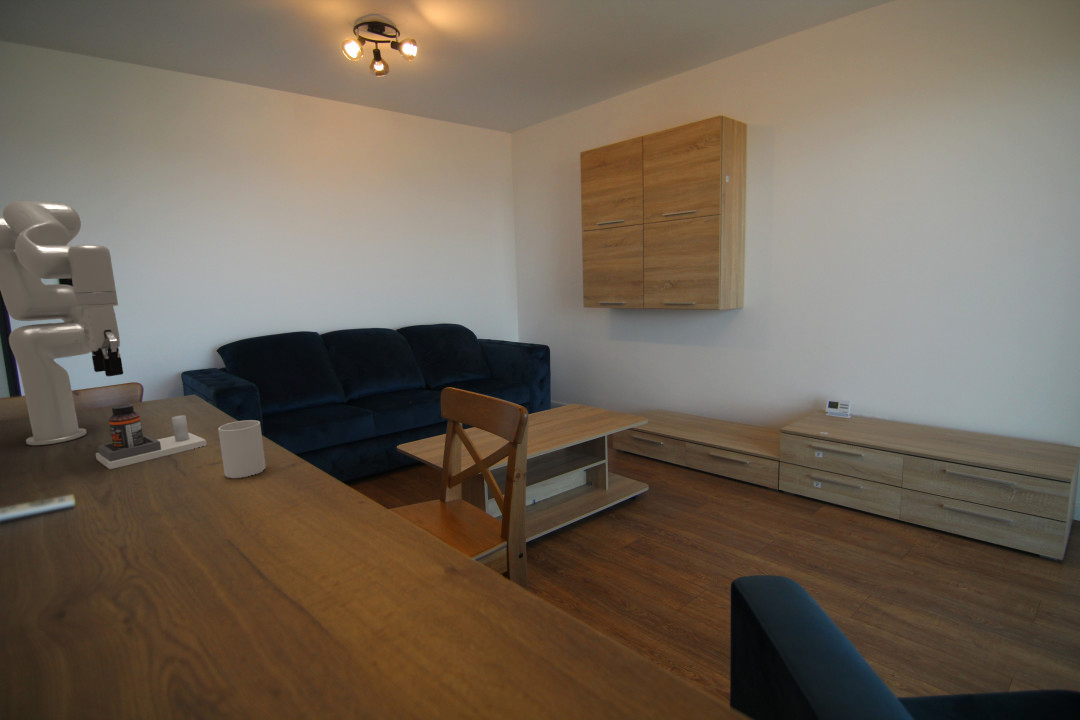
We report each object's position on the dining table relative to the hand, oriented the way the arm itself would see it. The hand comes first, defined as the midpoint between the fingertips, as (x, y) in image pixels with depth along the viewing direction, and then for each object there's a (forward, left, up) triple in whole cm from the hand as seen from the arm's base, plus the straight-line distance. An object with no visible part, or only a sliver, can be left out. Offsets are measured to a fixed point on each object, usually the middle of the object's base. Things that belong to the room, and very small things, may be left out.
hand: (108, 373), depth 129 cm
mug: (+35, +13, -21) cm, 43 cm away
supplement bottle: (+2, +1, -20) cm, 20 cm away
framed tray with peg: (+2, +6, -21) cm, 22 cm away
